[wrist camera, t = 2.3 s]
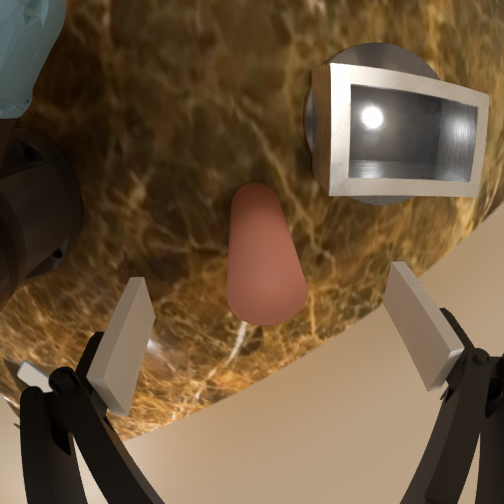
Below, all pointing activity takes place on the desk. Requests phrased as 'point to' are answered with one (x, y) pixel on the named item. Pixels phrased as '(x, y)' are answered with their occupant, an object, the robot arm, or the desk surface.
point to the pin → (262, 259)
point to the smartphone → (33, 376)
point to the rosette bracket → (392, 128)
